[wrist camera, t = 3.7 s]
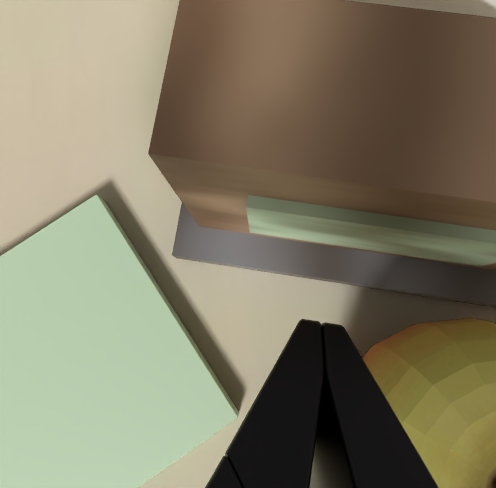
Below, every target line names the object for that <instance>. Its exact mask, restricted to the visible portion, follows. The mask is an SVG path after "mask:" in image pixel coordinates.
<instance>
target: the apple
mask: <svg viewBox="0 0 496 488" xmlns="http://www.w3.org/2000/svg"><path fill="white" fill-rule="evenodd" d="M362 359H363V360H364V362H365V364H366V365H367V367H368V369H369V370H370V372H371V374H372V375H373V377H374V379H375V380H376V382H377V384H378V386H379V387H380V389H381V391H382V392H383V394H384V396H385V397H386V399H387V401H388V402H389V404H390V406H391V407H392V409H393V411H394V412H395V414H396V416H397V418H398V419H399V421H400V423H401V424H402V426H403V428H404V429H405V431H406V433H407V434H408V436H409V438H410V439H411V441H412V443H413V445H414V446H415V448H416V450H417V451H418V453H419V455H420V456H421V458H422V460H423V461H424V463H425V465H426V466H427V468H428V470H429V472H430V473H431V475H432V477H433V478H434V480H435V482H436V483H437V485H438V487H439V488H496V323H493V322H489V321H485V320H479V319H473V318H466V319H456V320H446V321H437V322H427V323H419V324H414V325H411V326H409V327H407V328H405V329H403V330H401V331H399V332H397V333H396V334H394V335H392V336H390V337H388V338H386V339H384V340H382V341H381V342H379V343H377V344H375V345H373V346H372V347H371V349H370V350H369V351H368V352H367V353H366V354H365V356H364V357H363V358H362Z"/></svg>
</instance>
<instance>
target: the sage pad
mask: <svg viewBox="0 0 496 488" xmlns="http://www.w3.org/2000/svg"><path fill="white" fill-rule="evenodd" d="M238 415H239V412H238V410H237V408H236V407H235V405H234V404H233V402H232V401H231V399H230V397H229V396H228V394H227V393H226V391H225V390H224V388H223V386H222V385H221V383H220V382H219V380H218V379H217V377H216V375H215V374H214V372H213V371H212V369H211V368H210V366H209V364H208V363H207V361H206V360H205V358H204V356H203V355H202V353H201V352H200V350H199V349H198V347H197V345H196V344H195V342H194V341H193V339H192V338H191V336H190V334H189V333H188V331H187V330H186V328H185V327H184V325H183V323H182V322H181V320H180V319H179V317H178V316H177V314H176V312H175V311H174V309H173V308H172V306H171V305H170V303H169V301H168V300H167V298H166V297H165V295H164V294H163V292H162V290H161V289H160V287H159V286H158V284H157V283H156V281H155V279H154V278H153V276H152V275H151V273H150V272H149V270H148V268H147V267H146V265H145V264H144V262H143V261H142V259H141V257H140V256H139V254H138V253H137V251H136V250H135V248H134V246H133V245H132V243H131V242H130V240H129V239H128V237H127V235H126V234H125V232H124V231H123V229H122V228H121V226H120V224H119V223H118V221H117V220H116V218H115V216H114V215H113V213H112V212H111V210H110V209H109V207H108V205H107V204H106V202H105V201H104V200H103V199H102V198H101V197H99V196H98V195H97V194H96V195H94V196H93V197H91V198H90V199H88V200H87V201H85V202H84V203H82V204H81V205H79V206H77V207H76V208H74V209H73V210H71V211H70V212H68V213H67V214H65V215H63V216H62V217H60V218H59V219H57V220H56V221H54V222H53V223H51V224H49V225H48V226H46V227H45V228H43V229H42V230H40V231H39V232H37V233H36V234H34V235H32V236H31V237H29V238H28V239H26V240H25V241H23V242H22V243H20V244H18V245H17V246H15V247H14V248H12V249H11V250H9V251H8V252H6V253H4V254H3V255H1V256H0V488H138V487H140V486H141V485H143V484H144V483H145V482H147V481H148V480H150V479H151V478H153V477H154V476H155V475H157V474H158V473H160V472H161V471H163V470H164V469H165V468H167V467H168V466H170V465H171V464H173V463H174V462H175V461H177V460H178V459H180V458H181V457H182V456H184V455H185V454H187V453H188V452H190V451H191V450H192V449H194V448H195V447H197V446H198V445H200V444H201V443H202V442H204V441H205V440H207V439H208V438H210V437H211V436H212V435H214V434H215V433H217V432H218V431H219V430H221V429H222V428H224V427H225V426H227V425H228V424H229V423H231V422H232V421H234V420H235V419H237V418H238Z"/></svg>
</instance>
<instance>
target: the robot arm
mask: <svg viewBox="0 0 496 488" xmlns="http://www.w3.org/2000/svg"><path fill="white" fill-rule="evenodd" d="M205 488H439V487H438V485H437V483H436V482H435V480H434V478H433V477H432V475H431V473H430V472H429V470H428V468H427V466H426V465H425V463H424V461H423V460H422V458H421V456H420V455H419V453H418V451H417V450H416V448H415V446H414V445H413V443H412V441H411V439H410V438H409V436H408V434H407V433H406V431H405V429H404V428H403V426H402V424H401V423H400V421H399V419H398V418H397V416H396V414H395V412H394V411H393V409H392V407H391V406H390V404H389V402H388V401H387V399H386V397H385V396H384V394H383V392H382V391H381V389H380V387H379V386H378V384H377V382H376V380H375V379H374V377H373V375H372V374H371V372H370V370H369V369H368V367H367V365H366V364H365V362H364V360H363V359H362V357H361V355H360V353H359V352H358V350H357V348H356V347H355V345H354V343H353V342H352V340H351V338H350V337H349V335H348V333H347V332H346V330H345V328H344V327H343V326H341V325H337V324H331V323H323V324H322V325H321V323H320V322H318V321H312V320H306V319H301V320H300V321H299V323H298V324H297V326H296V328H295V330H294V331H293V333H292V335H291V337H290V339H289V340H288V342H287V344H286V346H285V348H284V349H283V351H282V353H281V355H280V356H279V358H278V360H277V362H276V364H275V365H274V367H273V369H272V371H271V372H270V374H269V376H268V378H267V380H266V381H265V383H264V385H263V387H262V389H261V390H260V392H259V394H258V396H257V397H256V399H255V401H254V403H253V405H252V406H251V408H250V410H249V412H248V414H247V415H246V417H245V419H244V421H243V422H242V424H241V426H240V428H239V430H238V431H237V433H236V435H235V437H234V438H233V440H232V442H231V444H230V446H229V447H228V449H227V451H226V453H225V456H223V458H222V459H221V461H220V463H219V465H218V466H217V468H216V470H215V472H214V474H213V475H212V477H211V479H210V480H209V482H208V484H207V485H206V487H205Z"/></svg>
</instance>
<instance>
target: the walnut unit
mask: <svg viewBox="0 0 496 488" xmlns="http://www.w3.org/2000/svg"><path fill="white" fill-rule="evenodd" d="M148 154H149V155H150V157H151V158H152V160H153V161H154V163H155V164H156V165H157V167H158V168H159V170H160V171H161V173H162V174H163V175H164V177H165V178H166V180H167V181H168V183H169V184H170V185H171V187H172V188H173V190H174V191H175V193H176V194H177V195H178V197H179V198H180V200H181V201H182V205H181V210H180V216H179V221H178V226H177V232H176V237H175V242H174V248H173V253H172V255H173V256H174V257H176V258H180V259H186V260H193V261H199V262H206V263H212V264H219V265H225V266H232V267H238V268H245V269H251V270H258V271H264V272H271V273H277V274H284V275H290V276H297V277H304V278H310V279H317V280H323V281H330V282H336V283H343V284H349V285H356V286H362V287H369V288H375V289H382V290H388V291H395V292H401V293H408V294H414V295H421V296H427V297H434V298H440V299H447V300H453V301H460V302H466V303H473V304H479V305H486V306H493V307H496V18H492V17H484V16H475V15H466V14H458V13H449V12H440V11H432V10H423V9H414V8H406V7H397V6H388V5H380V4H371V3H362V2H354V1H345V0H180V1H179V6H178V11H177V16H176V21H175V26H174V30H173V35H172V40H171V45H170V50H169V55H168V60H167V65H166V70H165V75H164V79H163V84H162V89H161V94H160V99H159V104H158V109H157V114H156V119H155V123H154V128H153V133H152V138H151V143H150V148H149V153H148Z"/></svg>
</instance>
